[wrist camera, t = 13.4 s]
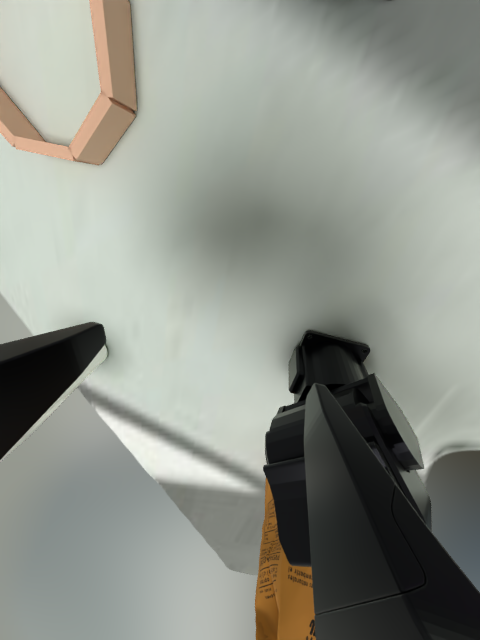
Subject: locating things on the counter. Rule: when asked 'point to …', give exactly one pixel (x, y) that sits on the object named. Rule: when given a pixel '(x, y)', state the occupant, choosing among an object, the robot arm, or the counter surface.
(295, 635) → the coffee package
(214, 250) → the counter surface
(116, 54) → the segmented octagonal ring
